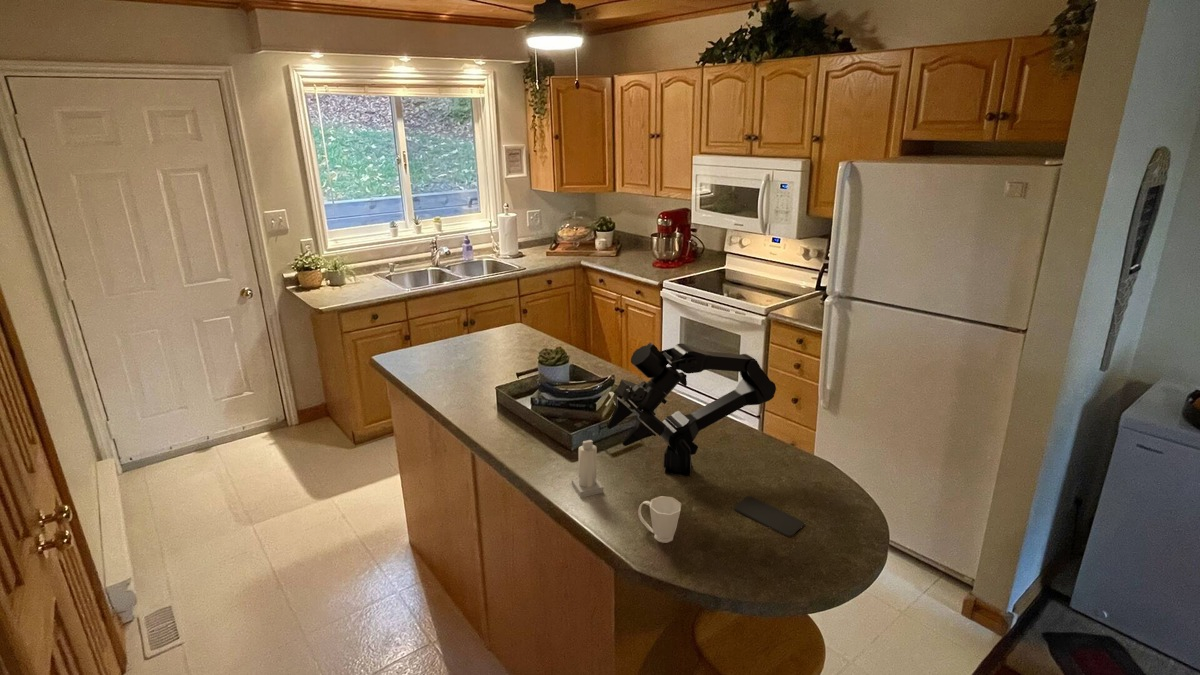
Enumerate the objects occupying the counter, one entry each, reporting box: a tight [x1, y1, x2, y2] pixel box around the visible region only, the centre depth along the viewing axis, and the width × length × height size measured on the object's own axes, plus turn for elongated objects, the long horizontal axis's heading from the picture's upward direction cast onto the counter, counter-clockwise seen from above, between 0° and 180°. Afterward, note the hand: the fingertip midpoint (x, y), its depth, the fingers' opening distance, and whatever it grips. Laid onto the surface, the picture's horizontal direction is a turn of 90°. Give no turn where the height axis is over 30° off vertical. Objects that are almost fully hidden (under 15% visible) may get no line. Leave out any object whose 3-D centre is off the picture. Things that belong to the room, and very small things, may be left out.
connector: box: [571, 439, 604, 498], centre depth 152 cm, size 6×6×13 cm
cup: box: [637, 495, 682, 544], centre depth 137 cm, size 7×10×8 cm
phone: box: [733, 495, 805, 537], centre depth 144 cm, size 7×1×15 cm
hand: (615, 436), depth 153 cm, fingers open, 9 cm apart
